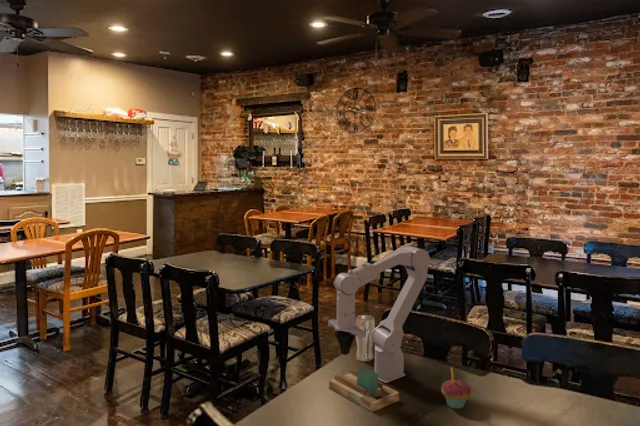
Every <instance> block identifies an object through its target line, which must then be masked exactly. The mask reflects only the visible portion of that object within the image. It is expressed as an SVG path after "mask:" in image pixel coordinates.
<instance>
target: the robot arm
mask: <svg viewBox="0 0 640 426" xmlns="http://www.w3.org/2000/svg"><path fill="white" fill-rule="evenodd" d="M431 263H432V260H431V257H430V254H429V252H428V251H427V250H426V249H423V248H418V247H415V246H412V245H410V244H404V245H403V246H400V247H398V248H397V249H395V251H393V252H391V253H389V254H388V255H386V256H385V257H382V258H381V259H379V260H377V261H376V262H374V263H371V262H363V261H362V262H361V263H360V266H358V267H356V268H354V269H349V270H347V273H346V272H341V273H340V272H339V274H337V276H336V277H335V279H334V281H333V286H334V288H335V289H336V319H329V320H328V321H327V322H328V323H327V326H328V327H333V328H334V330H335V331H334V335H335V337H336V340H337V341H338V345H339V347H340V353H341V354H342V355H344V356H346V355H349V354H350V352H351V349H352V344H353V343H354V340H355V339H356V336H357V337H358V338H362V337H364V331H363V330H361V329H360V328H358V327H357V326H356V325H355V323H356V293H357V292H358V290H359V288H360V287H362V286H364V285H367V284H368V283H370V282H372V281H374V280H376V279H377V276H378V274H381V273H382V272H384V271H387V270H389V269H392V268H394V267H396V266H398V265H402V266H403V267H404V268H405V269H406V273H407V279H406V280H405V283H404V284H403V286H402V288H401V290H400V292H399V294H398V296H397V298H396V300H395V302H394V304H393V306H392V308H391V309H390V312H389V314H388V316H387V317H386V318H385V319H383V320H382V321H380V322H379V323H378V325H377V326H376V327H375V329H374V330H373V332H372V335H371V338H372V341H373V344H374V372H376V373H378V381H379V382H381V383H383V384H388V383H390V382H393V381H395V380H397V379H401V378H402V377H406V373H404V372H405V371H404V361H405V360H404V359H405V357H404V352H403V350H402V349H401V346H402V341H403V337H404V336H405V334H404V330H403V326H404V324H405V322H406V320H407V317H408V316H409V314H410V312H411V310H412V308H413V306H414V305H415V302H416V300H417V299H418V297H419V294H420V293H421V290H422V289H423V287H424V285H425V282H426V281H427V277H428V268H429V266H430V264H431Z"/></svg>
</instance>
